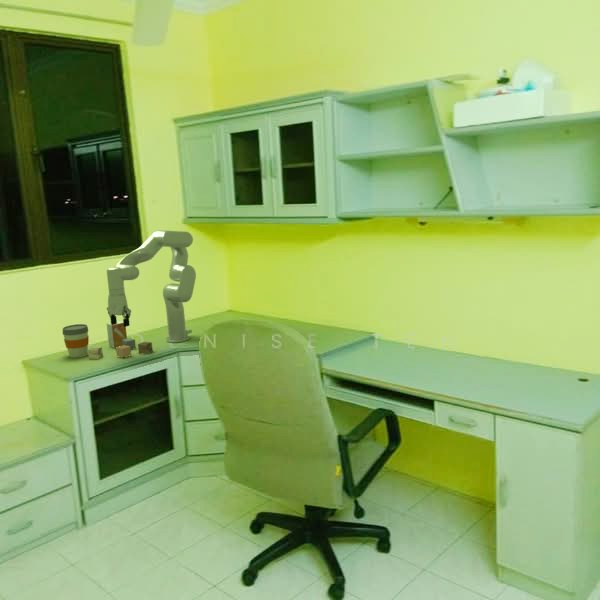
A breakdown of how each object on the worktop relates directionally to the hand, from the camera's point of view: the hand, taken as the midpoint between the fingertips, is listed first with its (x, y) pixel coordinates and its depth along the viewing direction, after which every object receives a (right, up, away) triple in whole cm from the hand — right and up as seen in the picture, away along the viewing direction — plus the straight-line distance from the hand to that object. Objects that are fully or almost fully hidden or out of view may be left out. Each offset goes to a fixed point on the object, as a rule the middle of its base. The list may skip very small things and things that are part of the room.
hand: (120, 325), depth 302 cm
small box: (-8, -12, +24) cm, 28 cm away
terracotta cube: (+1, -16, +3) cm, 17 cm away
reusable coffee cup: (-25, -16, +10) cm, 31 cm away
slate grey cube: (0, -13, +17) cm, 22 cm away
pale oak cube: (-13, -17, +4) cm, 22 cm away
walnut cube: (+11, -15, +9) cm, 20 cm away
